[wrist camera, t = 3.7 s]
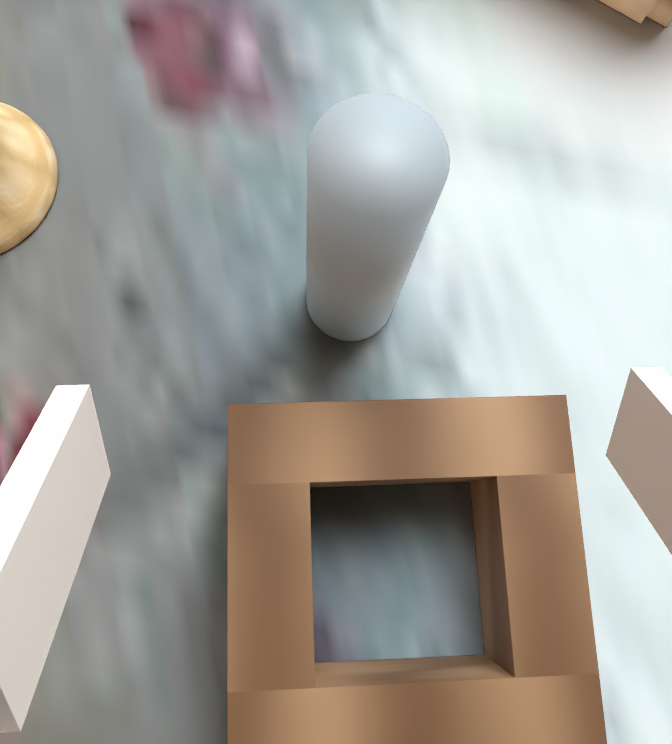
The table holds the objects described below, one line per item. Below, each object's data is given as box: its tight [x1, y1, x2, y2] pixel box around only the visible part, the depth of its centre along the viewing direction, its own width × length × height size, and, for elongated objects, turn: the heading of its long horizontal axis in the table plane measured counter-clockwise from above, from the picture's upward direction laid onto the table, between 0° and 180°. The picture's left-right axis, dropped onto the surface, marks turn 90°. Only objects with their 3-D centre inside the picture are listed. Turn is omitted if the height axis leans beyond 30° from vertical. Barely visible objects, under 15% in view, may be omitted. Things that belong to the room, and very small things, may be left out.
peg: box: [306, 93, 450, 341], centre depth 24 cm, size 4×4×12 cm
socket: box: [227, 395, 607, 744], centre depth 25 cm, size 13×13×4 cm
